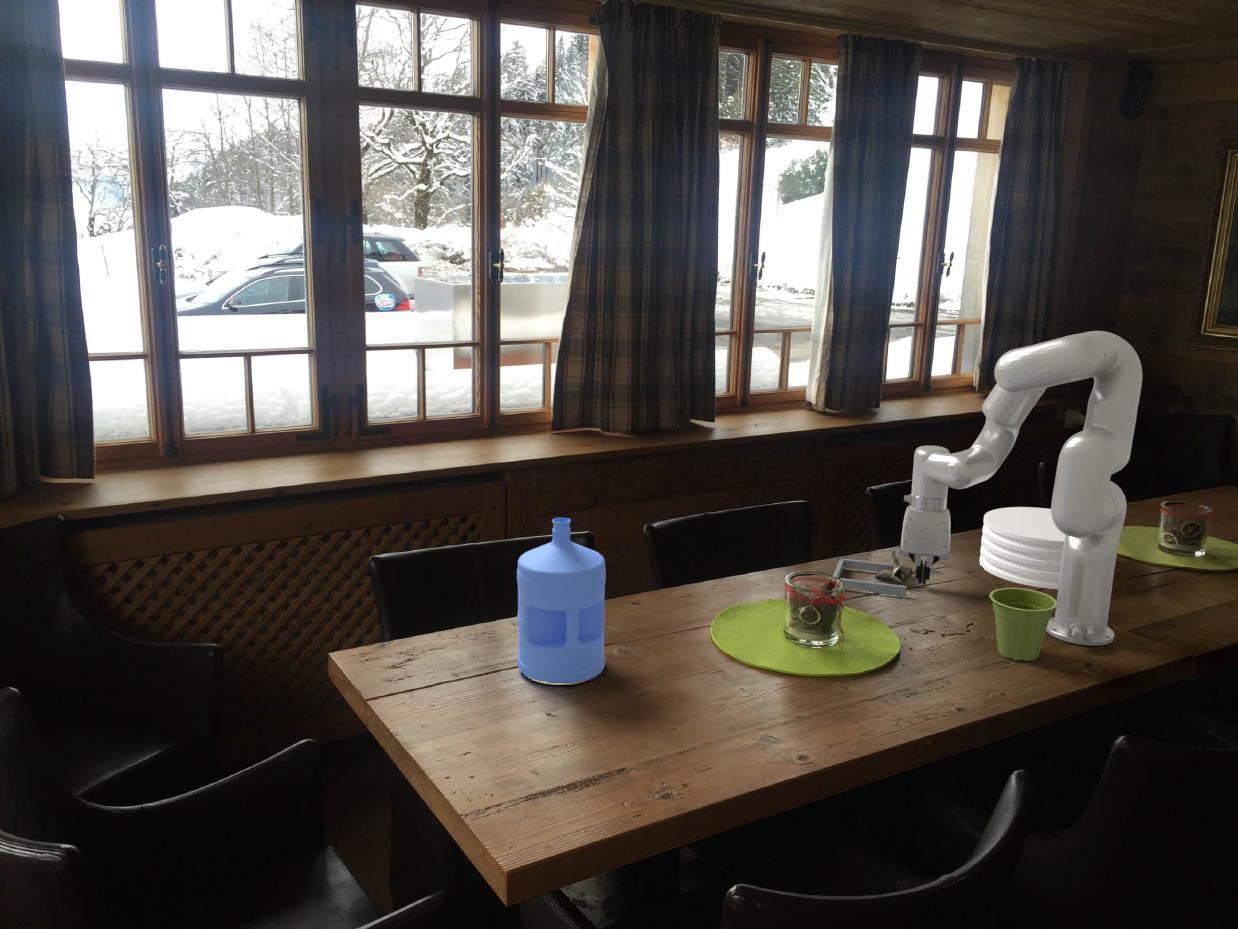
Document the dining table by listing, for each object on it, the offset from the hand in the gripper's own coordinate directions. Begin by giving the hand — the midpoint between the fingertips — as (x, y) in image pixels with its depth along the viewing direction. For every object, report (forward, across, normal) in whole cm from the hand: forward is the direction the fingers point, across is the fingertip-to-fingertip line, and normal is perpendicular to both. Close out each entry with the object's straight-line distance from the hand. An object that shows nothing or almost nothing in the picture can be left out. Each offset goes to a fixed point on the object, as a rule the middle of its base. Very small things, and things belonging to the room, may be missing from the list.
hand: (922, 582), depth 223 cm
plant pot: (+2, +19, -30) cm, 35 cm away
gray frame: (+2, -11, 0) cm, 11 cm away
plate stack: (+2, +26, +26) cm, 37 cm away
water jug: (+2, -59, -67) cm, 89 cm away
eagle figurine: (+2, -6, +3) cm, 7 cm away
